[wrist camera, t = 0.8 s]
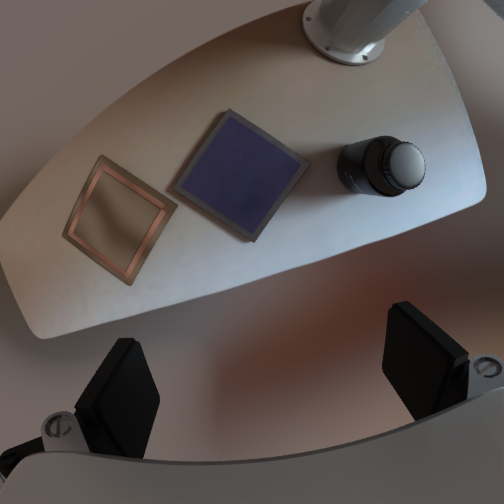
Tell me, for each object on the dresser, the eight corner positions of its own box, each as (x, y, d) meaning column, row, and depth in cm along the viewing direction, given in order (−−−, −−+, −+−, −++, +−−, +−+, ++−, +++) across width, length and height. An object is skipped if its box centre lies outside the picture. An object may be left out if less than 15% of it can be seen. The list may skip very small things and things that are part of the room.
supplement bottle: (332, 189, 36) (373, 193, 24) (337, 139, 34) (379, 122, 23) (378, 197, 36) (429, 205, 25) (383, 149, 35) (434, 140, 23)
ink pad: (229, 110, 33) (228, 107, 31) (307, 164, 35) (310, 163, 33) (175, 188, 35) (172, 188, 33) (253, 240, 37) (254, 243, 35)
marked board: (102, 154, 33) (100, 154, 32) (178, 205, 35) (177, 205, 35) (63, 234, 35) (61, 235, 35) (131, 285, 37) (130, 286, 37)
